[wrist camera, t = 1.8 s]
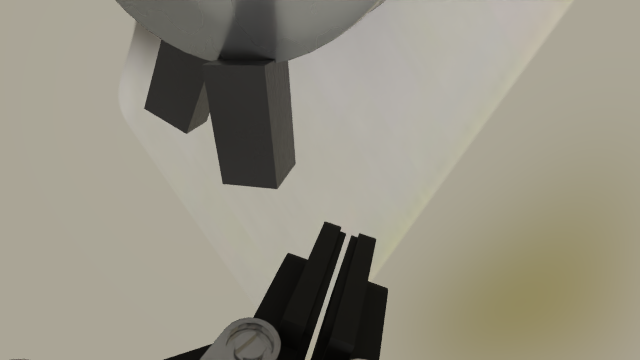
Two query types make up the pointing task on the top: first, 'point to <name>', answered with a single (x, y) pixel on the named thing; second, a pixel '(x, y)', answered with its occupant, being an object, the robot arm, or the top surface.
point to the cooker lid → (249, 69)
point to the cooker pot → (180, 88)
